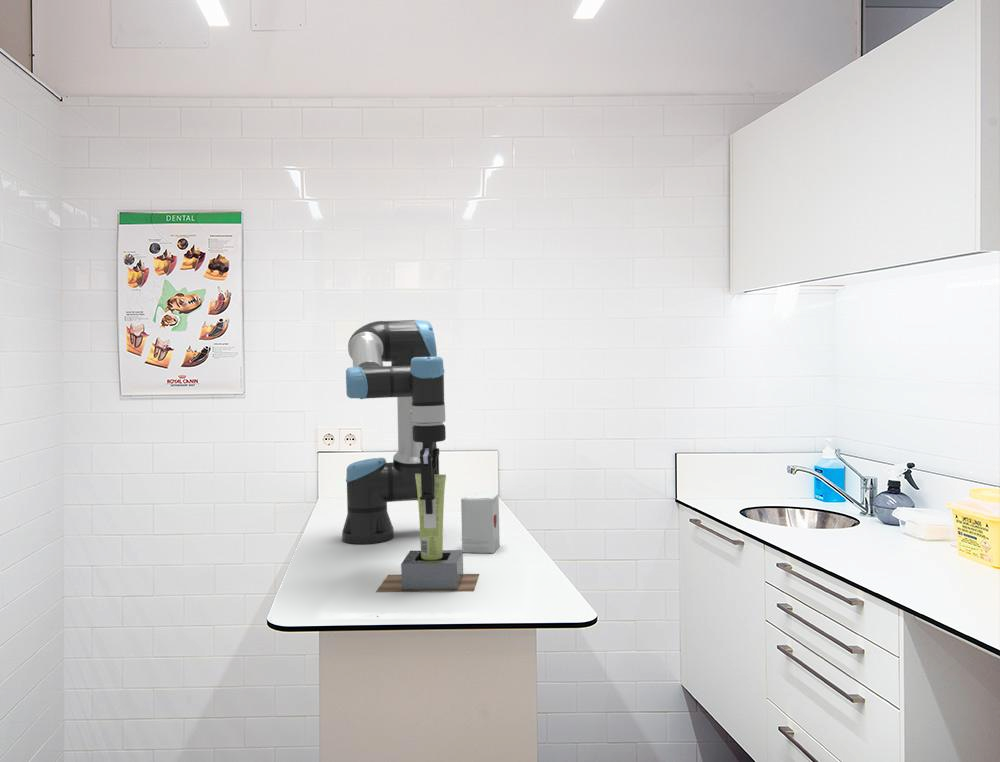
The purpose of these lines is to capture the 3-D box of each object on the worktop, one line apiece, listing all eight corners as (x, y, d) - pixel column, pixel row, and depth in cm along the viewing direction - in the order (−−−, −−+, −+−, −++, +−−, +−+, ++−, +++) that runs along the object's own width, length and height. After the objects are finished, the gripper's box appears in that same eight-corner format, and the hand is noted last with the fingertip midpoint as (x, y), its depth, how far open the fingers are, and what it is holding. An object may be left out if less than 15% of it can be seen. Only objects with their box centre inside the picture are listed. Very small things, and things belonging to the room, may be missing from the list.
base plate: (388, 579, 190) (388, 574, 190) (479, 578, 189) (479, 573, 189) (375, 597, 176) (375, 592, 176) (474, 596, 175) (473, 591, 175)
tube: (440, 554, 186) (437, 471, 185) (448, 558, 181) (446, 474, 181) (417, 557, 183) (414, 473, 183) (425, 562, 179) (422, 476, 178)
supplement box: (494, 553, 213) (492, 498, 212) (461, 553, 214) (460, 498, 214) (500, 545, 221) (499, 492, 221) (469, 545, 223) (468, 492, 223)
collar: (411, 575, 189) (410, 550, 189) (463, 575, 188) (462, 550, 188) (401, 590, 177) (401, 563, 177) (457, 589, 176) (456, 563, 176)
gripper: (418, 421, 190) (421, 517, 191) (405, 427, 173) (409, 534, 173) (449, 420, 190) (452, 517, 190) (439, 426, 172) (443, 533, 173)
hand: (431, 525), depth 182 cm, fingers closed on tube, 4 cm apart
